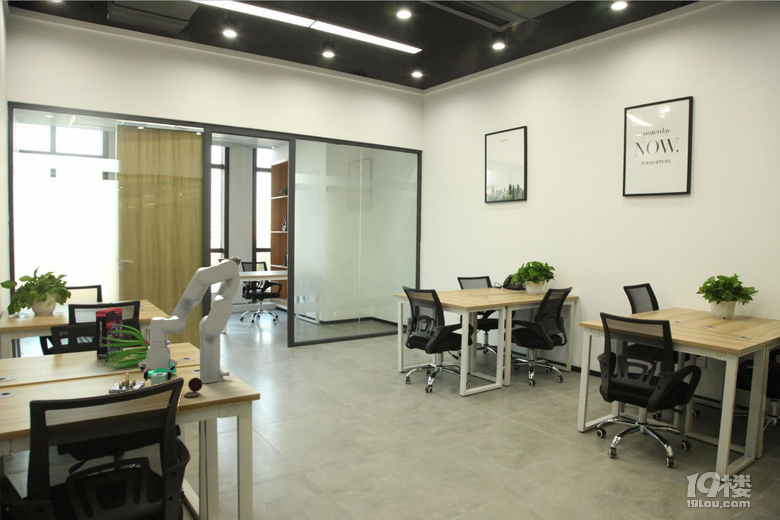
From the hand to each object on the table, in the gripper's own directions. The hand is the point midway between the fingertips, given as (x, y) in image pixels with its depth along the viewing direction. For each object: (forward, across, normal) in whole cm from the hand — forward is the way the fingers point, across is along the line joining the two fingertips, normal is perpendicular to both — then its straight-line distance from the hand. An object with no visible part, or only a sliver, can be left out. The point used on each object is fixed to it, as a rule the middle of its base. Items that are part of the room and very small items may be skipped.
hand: (157, 380), depth 237 cm
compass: (+2, -19, +20) cm, 28 cm away
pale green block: (+2, -1, 0) cm, 3 cm away
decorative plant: (+3, +22, -41) cm, 46 cm away
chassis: (+3, +12, +3) cm, 13 cm away
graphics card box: (+3, +39, -68) cm, 79 cm away
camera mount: (+3, +2, -18) cm, 18 cm away
